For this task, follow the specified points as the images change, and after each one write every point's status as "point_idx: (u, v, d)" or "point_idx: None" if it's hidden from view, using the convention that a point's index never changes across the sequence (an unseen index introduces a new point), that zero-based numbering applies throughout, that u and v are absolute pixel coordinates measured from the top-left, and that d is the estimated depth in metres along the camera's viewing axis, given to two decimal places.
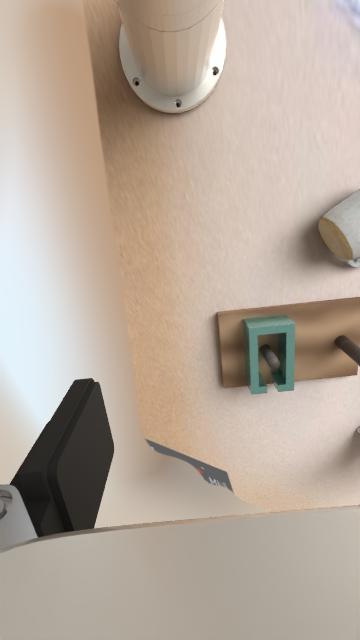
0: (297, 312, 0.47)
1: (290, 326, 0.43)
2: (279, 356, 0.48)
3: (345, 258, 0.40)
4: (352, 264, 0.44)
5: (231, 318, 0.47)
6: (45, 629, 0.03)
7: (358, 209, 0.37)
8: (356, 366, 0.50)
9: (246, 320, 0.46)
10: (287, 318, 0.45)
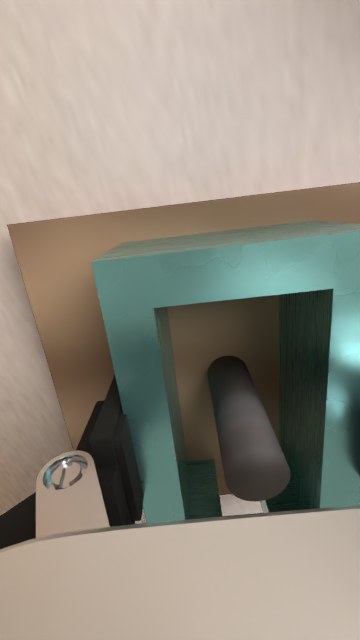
0: None
1: None
2: (285, 405, 0.12)
3: None
4: None
5: (69, 241, 0.10)
6: (45, 629, 0.03)
7: None
8: None
9: (128, 244, 0.10)
10: (329, 223, 0.09)
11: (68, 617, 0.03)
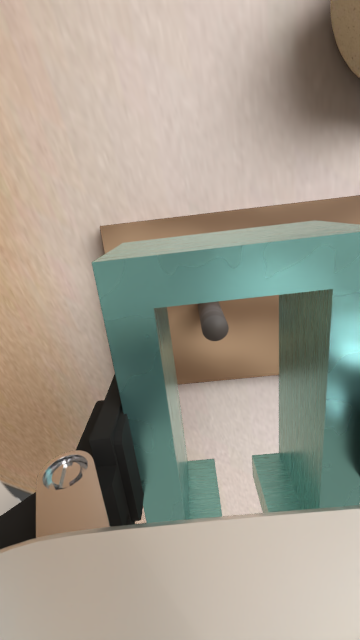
0: (274, 219, 0.21)
1: None
2: (285, 405, 0.12)
3: None
4: None
5: (129, 234, 0.21)
6: (45, 629, 0.03)
7: None
8: None
9: (128, 244, 0.10)
10: (329, 224, 0.09)
11: (68, 617, 0.03)
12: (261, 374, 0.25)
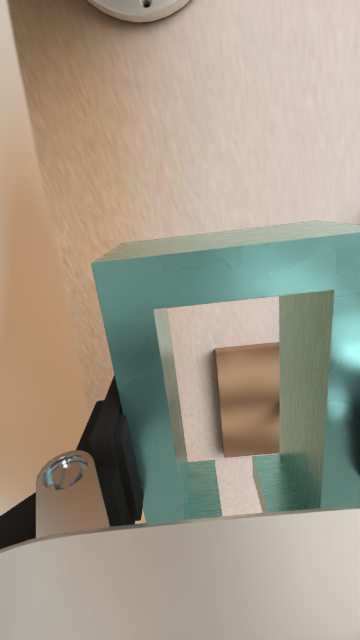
0: None
1: None
2: (285, 406, 0.12)
3: None
4: None
5: (236, 359, 0.31)
6: (45, 629, 0.03)
7: None
8: None
9: (128, 245, 0.10)
10: (330, 224, 0.08)
11: (68, 617, 0.03)
12: None
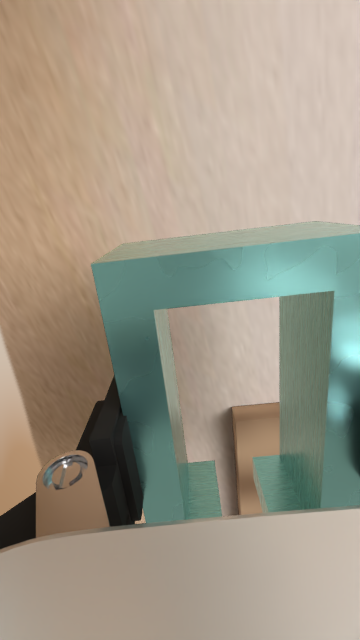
0: None
1: None
2: (285, 407, 0.12)
3: None
4: None
5: (265, 427, 0.20)
6: (45, 629, 0.03)
7: None
8: None
9: (128, 245, 0.10)
10: (330, 225, 0.08)
11: (68, 617, 0.03)
12: None
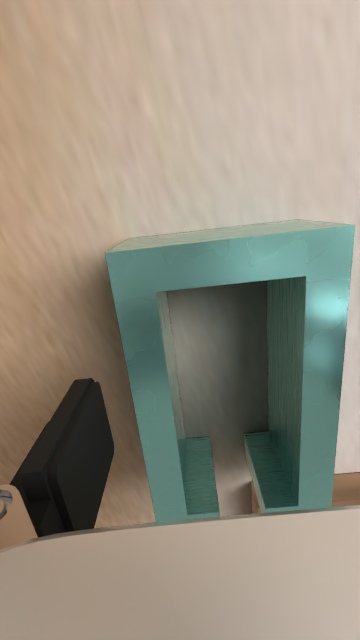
0: None
1: (331, 241, 0.08)
2: (272, 385, 0.13)
3: None
4: None
5: None
6: (45, 629, 0.03)
7: None
8: None
9: (133, 239, 0.11)
10: (307, 222, 0.10)
11: (68, 617, 0.03)
12: None
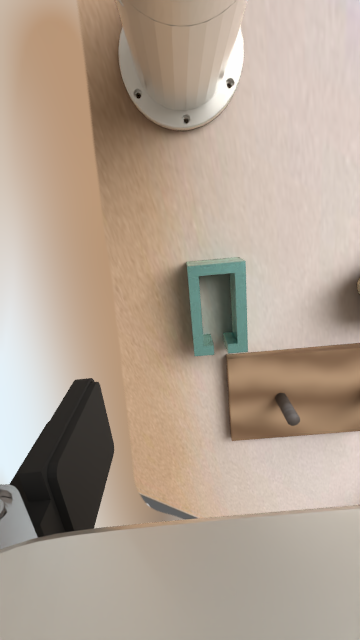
0: (319, 357, 0.40)
1: (240, 264, 0.34)
2: (232, 311, 0.39)
3: None
4: None
5: (242, 363, 0.40)
6: (45, 629, 0.03)
7: None
8: None
9: (189, 262, 0.37)
10: (238, 259, 0.36)
11: (68, 617, 0.03)
12: (307, 433, 0.44)
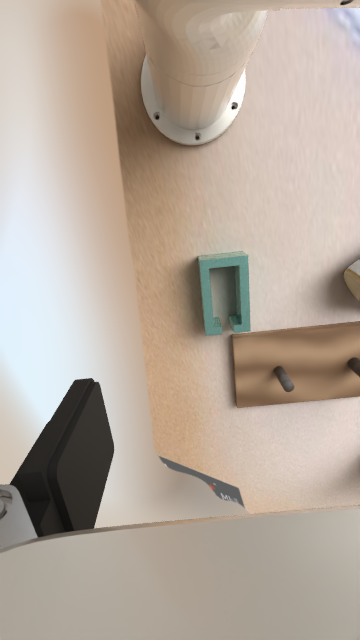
0: (311, 335, 0.47)
1: (243, 258, 0.41)
2: (236, 297, 0.46)
3: None
4: None
5: (246, 341, 0.48)
6: (45, 629, 0.03)
7: None
8: None
9: (200, 256, 0.44)
10: (242, 253, 0.43)
11: (68, 617, 0.03)
12: (301, 400, 0.52)
